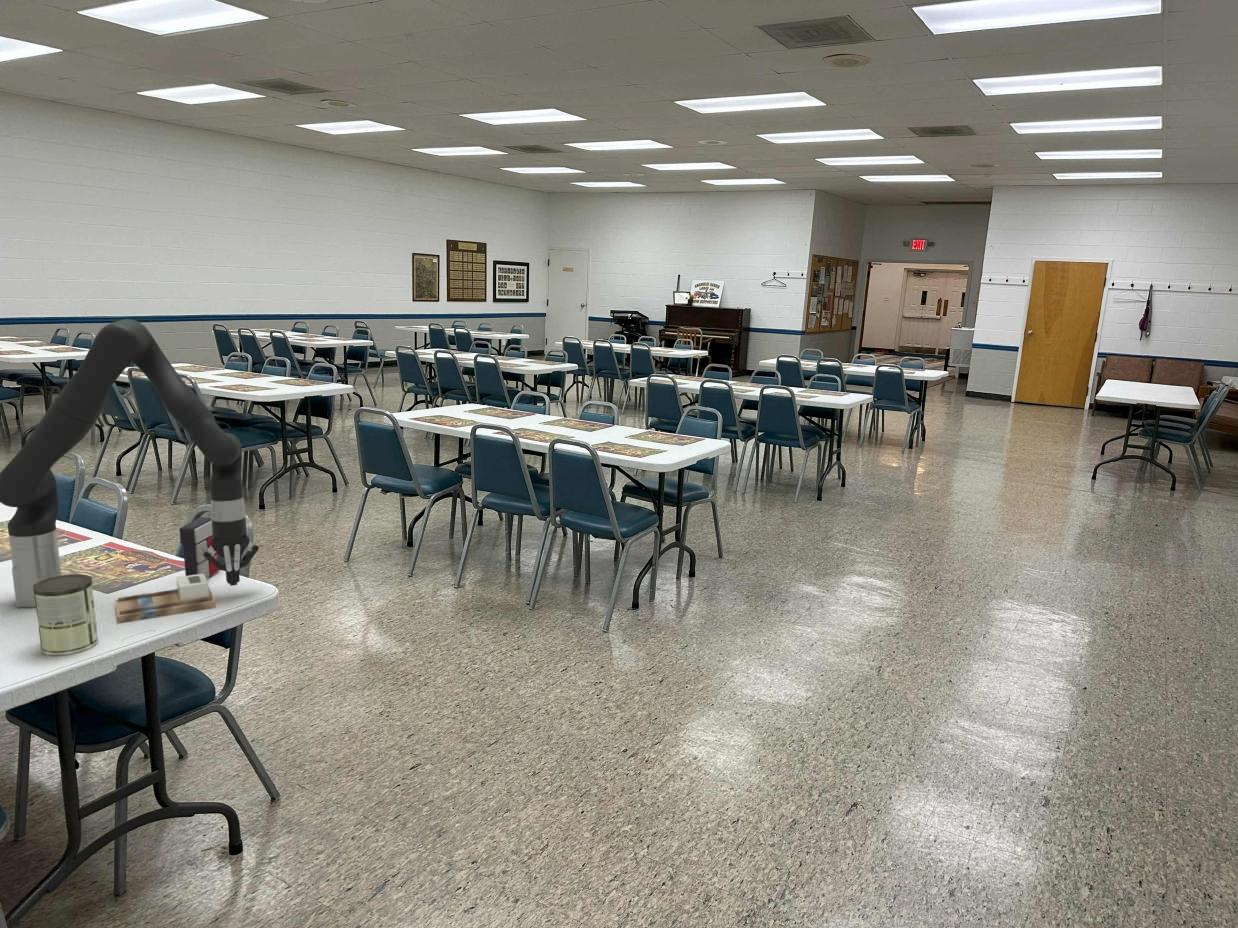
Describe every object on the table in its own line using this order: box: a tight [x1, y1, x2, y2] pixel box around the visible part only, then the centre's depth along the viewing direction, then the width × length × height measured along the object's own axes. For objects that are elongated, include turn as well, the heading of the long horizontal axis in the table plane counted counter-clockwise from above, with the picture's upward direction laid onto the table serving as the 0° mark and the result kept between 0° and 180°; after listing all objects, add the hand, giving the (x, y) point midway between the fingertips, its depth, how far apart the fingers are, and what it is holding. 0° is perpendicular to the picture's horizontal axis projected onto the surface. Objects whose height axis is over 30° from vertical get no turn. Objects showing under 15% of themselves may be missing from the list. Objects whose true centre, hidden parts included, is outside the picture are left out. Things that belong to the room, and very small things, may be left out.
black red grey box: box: [178, 516, 220, 580], centre depth 218 cm, size 11×4×15 cm, turn 179°
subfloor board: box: [114, 585, 217, 624], centre depth 199 cm, size 20×12×2 cm, turn 122°
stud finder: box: [176, 574, 210, 601], centre depth 202 cm, size 6×8×4 cm
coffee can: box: [33, 573, 99, 657], centre depth 175 cm, size 10×10×14 cm
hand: (233, 584), depth 207 cm, fingers closed
